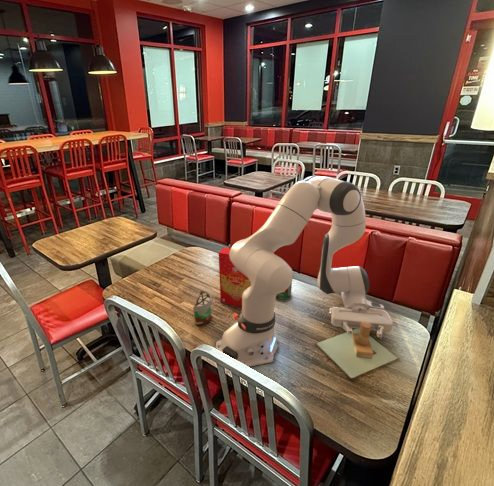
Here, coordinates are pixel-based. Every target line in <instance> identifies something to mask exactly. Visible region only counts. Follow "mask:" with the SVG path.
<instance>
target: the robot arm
mask: <svg viewBox="0 0 494 486" xmlns="http://www.w3.org/2000/svg"><path fill="white" fill-rule="evenodd" d="M316 210H318V211H321V212H324V213H328V214H331V227H330V229H329V230H328V232H327V233H325V234H324V236H323V238H322V245H321V253H320V263H319V268H318V269H319V270H318V275H317V286H318V289H319V290H320V291H321V292H323V293H324V294H327V295H330V294H332V295H333V294H337V293H340V294H341V295H340V296H341V299H342V303H343V307H338V306H332V307H329V309H328V312H329V314H330V316H331V317H330V323H331V325H332V326H333V327H340V328H342V329H343V330H344V331H345V332H347V334H351V335H352V330H353V329H356V328H357V329H360V326H361V322H369V323H370V324H371V330H370V331H376V333H375V336H376V338H379V339H382V338H383V333H385V332H386V333H391V332H392V331H393V329H394V321H393V319H392V317H391V316H390V314H389V313H388V312H387V310H385V306H384V305H383V304H381V303H377V302H374V301H372V300H368V299H367V296H366V295H367V294H368V293H369V291H370V288H371V284H370V279H369V275H368V272H367V271H366V270H365V268H363V267H362V266H360V265H353V266H344V267H343V266H342V267H332V265H333V256H334V254H336V252H338V251H339V250H341V249H343V248H345V247H348V246H350V245H353V244H355V243H356V242H357V241H359V240H360V239H361V238H363V236H364V234H365V233H366V228H367V227H366V225H367V221H366V219H367V217H366V208H365V204H364V199H363V196H362V194H361V191H360V189H359V187H358V186H357V185H355V184H354V183H352V182H350V181H344V180H342V179H341V180H340V179H337V178H334V177H330V176H320V175H311V176H310V175H309V176H307V177H305V178H304V179H303V180H299V181H297V182H295V183H294V184H293V185H291V186H290V188H289V189H288V190H287V191H286V193H285V194H284V195H283V196H282V197H281V198H280V200H279V201H278V203H277V205H276V206H275V208H274V209H273V211H272V212H271V214H270V215H269V217H268V218H267V219H266V221H264V223H263V225H262V226H260V228H259V229H257V231H255V232H254V233H253V234H252V235H250V236H248V237H246V238H243V239H240V240H238V241H236V242H234V244H233V245H232V246H231V247H230V248H231V250H230V254H229V257H230V260H231V262H232V263H233V265H234V266H235V267H236V269H237V270H239V271H240V272H241V273H243V274H244V275H245V276H247V277H248V278H249V280H250V283H251V286H250V287H248V288H247V289H246V290H245V291H244V292H243V294H242V307H241V311H240V314H238V312H234V313H232V315H231V317H232V318H233V321H235V322H234V323H233V324H232V325H230V327H228V328H227V329H226V330H225V331H224V332H223V334H222V336H221V338H220V339H219V340H217V341H216V342H215V349H216V348H217V349H219V350H221V351H222V352H223V353H225V354H227V355H229V356H230V357H232V358H234V359H236V360H238V361H240V362H242V363H244V364H246V365H247V366H249V367H254V366H259V365H260V366H261V365H264V364H269V363H273V362H274V355H275V354H276V352H277V351H278V342H277V337H276V333H275V325H276V312H275V307H276V299H275V298H276V295H277V294H279V293H281V292H283V291H285V290H286V289H287V288H288V287H289V286H290V284H291V282H292V283H293V279H294V271H293V269H292V267H291V266H290V265H289V263H288V262H286V261H285V259H283V258H282V257H280V256H278V255H277V254H275V252H276V251H277V250H279V249H281V248H282V247H285V246H290V245H293V244H294V243H296V242H297V240H298V238H299V237H300V235H301V234H302V232H303V230H304V229H305V227H306V226H307V224H308V223H309V221H310V220H311V218H312V217H313V214H314V212H315V211H316Z"/></svg>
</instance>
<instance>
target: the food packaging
mask: <svg viewBox="0 0 494 486" xmlns="http://www.w3.org/2000/svg"><path fill="white" fill-rule="evenodd" d="M231 248H232V247H222V249H221V250H220V251H219V252H218V271H219V272H218V273H219V293H220V294H219V295H220V303H221V304H224V305H230V306H234V307H238V308H242V294H243V292H244V291H245V290H246V289H247V288H248V287H250V286H251V283H250V280H249V278H248V277H247V276H245V275H244V274H243V273H241V272H240V271H239V270H237V269H236V267H235V266H234V265H233V263H232V262H231V260H230V257H229V254H230V250H231Z"/></svg>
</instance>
